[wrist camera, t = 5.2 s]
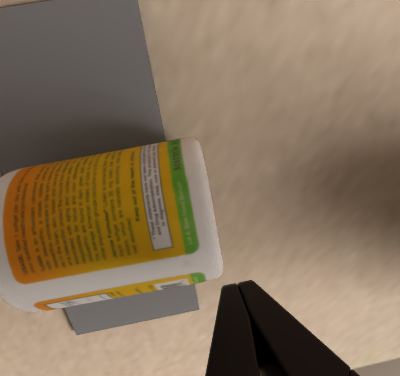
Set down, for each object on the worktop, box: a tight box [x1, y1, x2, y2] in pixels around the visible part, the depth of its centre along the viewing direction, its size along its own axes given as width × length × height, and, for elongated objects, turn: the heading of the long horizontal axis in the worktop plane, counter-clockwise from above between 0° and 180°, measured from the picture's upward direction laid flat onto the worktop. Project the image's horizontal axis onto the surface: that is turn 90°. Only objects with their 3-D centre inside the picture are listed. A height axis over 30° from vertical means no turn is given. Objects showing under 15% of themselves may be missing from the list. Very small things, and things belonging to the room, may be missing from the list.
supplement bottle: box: [0, 138, 223, 312], centre depth 13 cm, size 5×5×10 cm
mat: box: [0, 0, 199, 335], centre depth 15 cm, size 7×16×1 cm, turn 8°
